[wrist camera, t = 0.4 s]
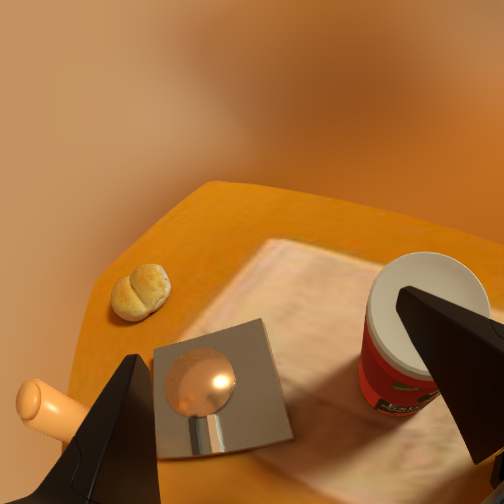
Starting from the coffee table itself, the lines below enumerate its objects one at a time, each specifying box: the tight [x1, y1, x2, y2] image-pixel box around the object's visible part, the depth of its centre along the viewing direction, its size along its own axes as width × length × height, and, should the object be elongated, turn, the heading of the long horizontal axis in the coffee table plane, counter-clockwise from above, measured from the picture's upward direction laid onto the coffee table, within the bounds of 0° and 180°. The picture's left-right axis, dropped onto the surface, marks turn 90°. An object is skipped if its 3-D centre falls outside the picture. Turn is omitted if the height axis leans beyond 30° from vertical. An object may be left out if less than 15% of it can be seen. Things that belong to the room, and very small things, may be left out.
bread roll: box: [111, 263, 171, 322], centre depth 34 cm, size 8×9×4 cm
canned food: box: [359, 252, 491, 416], centre depth 15 cm, size 8×8×11 cm
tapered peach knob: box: [16, 379, 91, 444], centre depth 16 cm, size 5×5×13 cm
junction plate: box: [154, 318, 295, 460], centre depth 22 cm, size 12×12×2 cm
